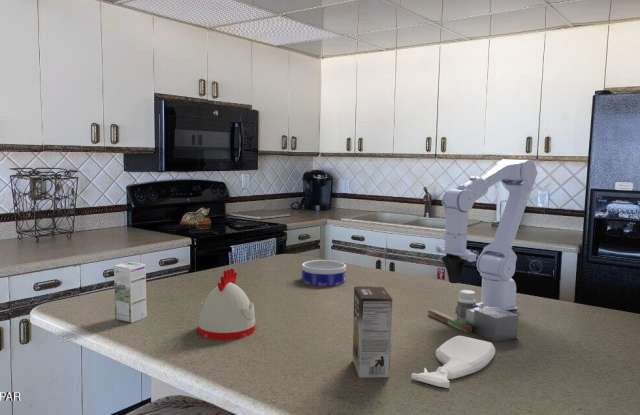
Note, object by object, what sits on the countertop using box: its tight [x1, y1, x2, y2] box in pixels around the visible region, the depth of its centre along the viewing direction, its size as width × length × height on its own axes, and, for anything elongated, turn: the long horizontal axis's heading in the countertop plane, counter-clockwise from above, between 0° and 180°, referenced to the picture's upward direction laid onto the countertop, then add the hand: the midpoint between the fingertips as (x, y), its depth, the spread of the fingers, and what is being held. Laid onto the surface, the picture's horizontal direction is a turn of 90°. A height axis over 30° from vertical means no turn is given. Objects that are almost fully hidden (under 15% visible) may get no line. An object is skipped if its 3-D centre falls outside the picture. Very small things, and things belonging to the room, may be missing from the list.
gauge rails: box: [427, 305, 473, 334], centre depth 139 cm, size 11×16×2 cm
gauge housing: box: [472, 307, 519, 343], centre depth 128 cm, size 7×8×6 cm
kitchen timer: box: [197, 268, 256, 341], centre depth 128 cm, size 14×14×15 cm
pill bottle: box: [456, 289, 477, 324], centre depth 137 cm, size 5×5×8 cm
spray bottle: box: [410, 335, 496, 389], centre depth 109 cm, size 3×11×24 cm
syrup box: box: [113, 261, 148, 324], centre depth 134 cm, size 6×6×14 cm
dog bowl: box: [301, 259, 347, 287], centre depth 181 cm, size 15×15×6 cm
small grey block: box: [466, 302, 490, 332], centre depth 131 cm, size 7×7×7 cm
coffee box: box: [352, 285, 393, 379], centre depth 106 cm, size 9×6×16 cm
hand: (453, 282), depth 142 cm, fingers closed
